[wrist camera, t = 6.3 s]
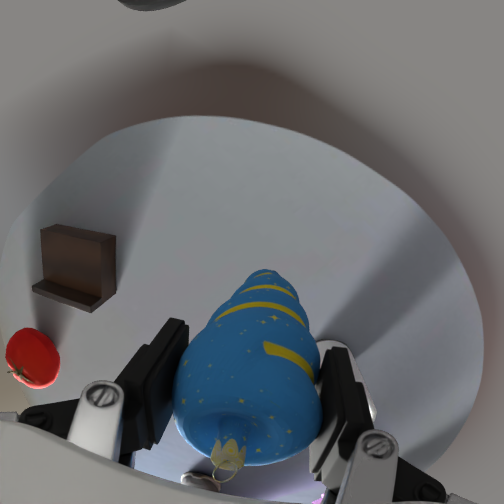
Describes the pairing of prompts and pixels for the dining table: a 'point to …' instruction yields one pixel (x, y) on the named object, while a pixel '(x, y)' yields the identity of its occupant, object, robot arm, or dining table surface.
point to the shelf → (77, 267)
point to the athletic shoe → (200, 481)
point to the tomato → (33, 358)
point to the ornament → (250, 379)
